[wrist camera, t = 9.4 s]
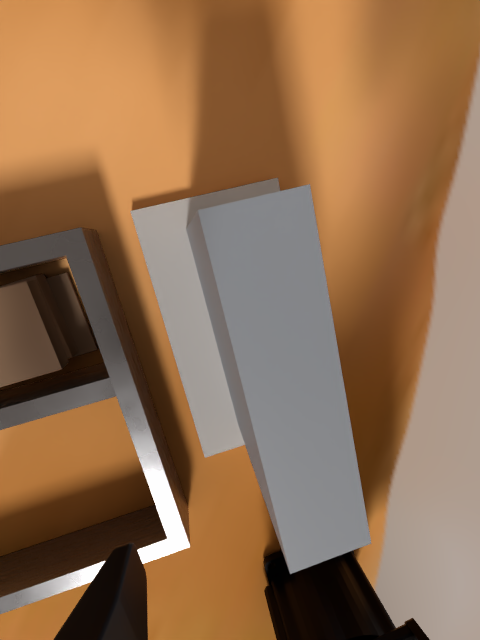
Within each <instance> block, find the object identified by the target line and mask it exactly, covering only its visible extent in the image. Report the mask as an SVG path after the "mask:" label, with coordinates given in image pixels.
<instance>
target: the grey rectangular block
mask: <svg viewBox="0 0 480 640" xmlns="http://www.w3.org/2000/svg"><path fill="white" fill-rule="evenodd" d="M186 230H187V234H188V238H189V242H190V246H191V249H192V253H193V257H194V261H195V264H196V268H197V272H198V276H199V279H200V283H201V287H202V291H203V294H204V298H205V302H206V306H207V309H208V313H209V317H210V321H211V324H212V328H213V332H214V336H215V340H216V343H217V347H218V351H219V355H220V358H221V362H222V366H223V370H224V373H225V377H226V381H227V385H228V388H229V392H230V396H231V400H232V403H233V407H234V411H235V415H236V418H237V422H238V426H239V429H240V431H241V434H242V437H243V440H244V443H245V446H246V449H247V451H248V454H249V457H250V460H251V463H252V466H253V469H254V472H255V474H256V477H257V480H258V483H259V486H260V489H261V492H262V495H263V497H264V500H265V503H266V506H267V509H268V512H269V515H270V518H271V520H272V523H273V526H274V529H275V532H276V535H277V538H278V541H279V543H280V546H281V549H282V552H283V555H284V558H285V561H286V563H287V566H288V569H289V572H290V574H292V573H294V572H297V571H300V570H302V569H305V568H308V567H310V566H313V565H316V564H318V563H321V562H323V561H326V560H329V559H331V558H334V557H337V556H339V555H342V554H345V553H347V552H350V551H352V550H355V549H358V548H360V547H363V546H366V545H368V544H371V539H370V533H369V528H368V522H367V516H366V510H365V504H364V498H363V493H362V487H361V481H360V475H359V469H358V463H357V457H356V452H355V446H354V440H353V434H352V428H351V422H350V416H349V411H348V405H347V399H346V393H345V387H344V381H343V376H342V370H341V364H340V358H339V352H338V346H337V340H336V335H335V329H334V323H333V317H332V311H331V305H330V300H329V294H328V288H327V282H326V276H325V270H324V264H323V259H322V253H321V247H320V241H319V235H318V229H317V224H316V218H315V212H314V206H313V200H312V194H311V188H310V184H309V185H305V186H300V187H296V188H292V189H287V190H283V191H279V192H274V193H270V194H266V195H262V196H257V197H253V198H249V199H244V200H240V201H236V202H231V203H227V204H223V205H218V206H214V207H210V208H205V209H201V210H198V211H197V212H196V214H195V216H194V217H193V219H192V220H191V222H190V224H189V225H188V227H187V229H186Z"/></svg>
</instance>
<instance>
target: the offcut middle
mask: <svg viewBox="0 0 480 640" xmlns="http://www.w3.org/2000/svg"><path fill="white" fill-rule="evenodd" d="M31 280H36V281H37V283H38V286H39V288H40V291H41V293H42V296H43V298H44V301H45V303H46V306H47V308H48V311H49V313H50V316H51V318H52V321H53V323H54V326H55V328H56V331H57V333H58V336H59V338H60V341H61V343H62V346H63V348H64V351H65V353H66V356H67V358H71V357H73V356H74V355H75V354H76V353H77V352H78V349H77V347H76V344H75V342H74V340H73V338H72V336H71V333H70V331H69V329H68V327H67V325H66V322H65V320H64V318H63V316H62V313H61V311H60V309H59V307H58V305H57V302H56V300H55V298H54V296H53V293H52V291H51V289H50V287H49V285H48V282H47V280H46V278H45V276H44V274H41V275H35V276H32V277H28V278H25V279H22V280H19V281H15V282H12V283H9V284H6V285H3V286H0V288H3V287H7V286H11V285H14V284H18V283H22V282H26V281H31Z"/></svg>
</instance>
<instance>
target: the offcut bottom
mask: <svg viewBox="0 0 480 640" xmlns="http://www.w3.org/2000/svg"><path fill="white" fill-rule="evenodd" d="M46 280H47V282H48V285H49V287H50V289H51V291H52V293H53V296H54V298H55V300H56V302H57V305H58V307H59V309H60V311H61V313H62V316H63V318H64V320H65V322H66V325H67V327H68V329H69V331H70V333H71V336H72V338H73V340H74V342H75V344H76V347H77V349H78V352H77V353H76V354H75V355H74V356H73V357H75V356H78V355H82V354H85V353H88V352H91V351H95V350H97V349H98V346H97V343H96V341H95V338H94V336H93V333H92V331H91V328H90V326H89V323H88V321H87V318H86V316H85V313H84V311H83V308H82V306H81V303H80V301H79V298H78V296H77V293H76V291H75V288H74V286H73V283H72V281H71V278H70V276H69V273H68V272H67V273H63V274H60V275H56V276H53V277H49V278H46ZM71 358H72V357H71Z"/></svg>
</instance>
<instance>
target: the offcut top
mask: <svg viewBox="0 0 480 640" xmlns="http://www.w3.org/2000/svg"><path fill="white" fill-rule="evenodd" d="M68 363H69V361H68V358H67V356H66V353H65V351H64V348H63V346H62V343H61V341H60V338H59V336H58V333H57V331H56V328H55V326H54V323H53V321H52V318H51V316H50V313H49V311H48V308H47V306H46V303H45V301H44V298H43V296H42V293H41V291H40V288H39V286H38V283H37V281H36V280H31V281H26V282H22V283H18V284H14V285H11V286H7V287H3V288H0V387H3V386H7V385H10V384H13V383H17V382H20V381H24V380H27V379H30V378H34V377H37V376H41V375H44V374H48V373H51V372H54V371H58V370H61V369H63V368H64V367H65V366H66V365H67V364H68Z"/></svg>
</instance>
